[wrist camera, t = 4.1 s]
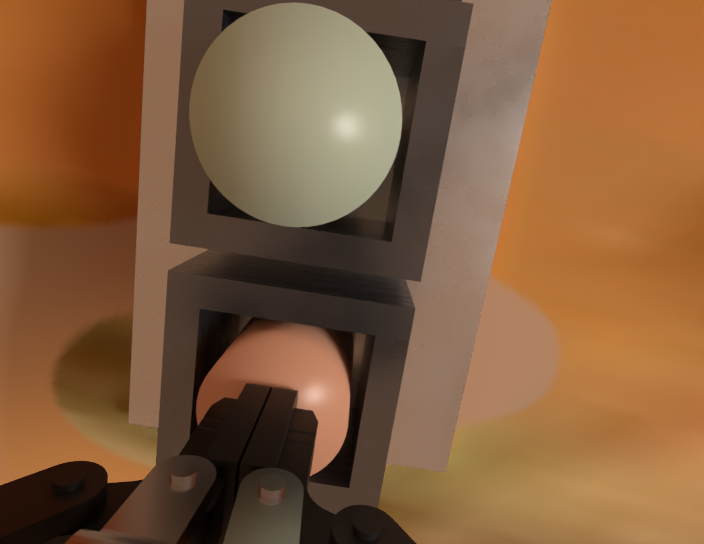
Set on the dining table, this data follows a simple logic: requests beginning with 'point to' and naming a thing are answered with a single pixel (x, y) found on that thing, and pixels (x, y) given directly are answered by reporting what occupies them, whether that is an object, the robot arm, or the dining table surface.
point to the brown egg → (290, 375)
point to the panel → (337, 232)
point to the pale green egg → (295, 114)
